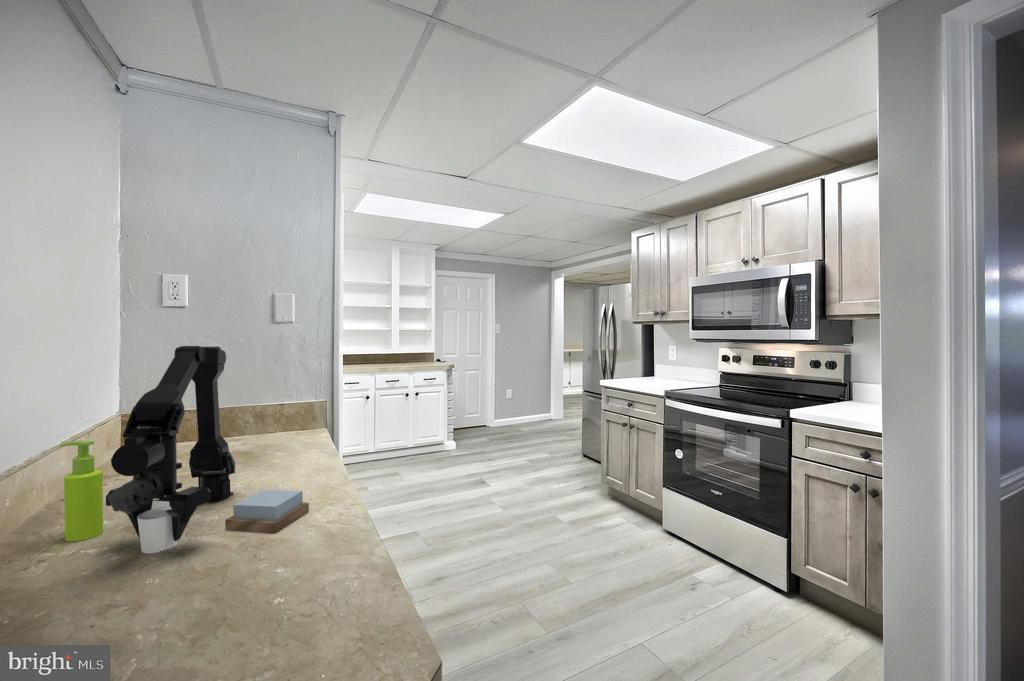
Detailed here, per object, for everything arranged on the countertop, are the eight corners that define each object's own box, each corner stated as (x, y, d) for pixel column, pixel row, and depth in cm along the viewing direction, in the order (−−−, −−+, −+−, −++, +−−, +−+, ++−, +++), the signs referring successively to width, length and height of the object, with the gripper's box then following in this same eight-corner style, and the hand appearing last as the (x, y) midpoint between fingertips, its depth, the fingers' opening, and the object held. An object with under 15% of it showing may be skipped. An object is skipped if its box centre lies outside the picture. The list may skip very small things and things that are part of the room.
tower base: (225, 533, 99) (225, 519, 99) (263, 512, 111) (263, 500, 111) (275, 536, 98) (275, 522, 97) (308, 515, 109) (308, 502, 109)
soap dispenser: (76, 530, 99) (75, 438, 99) (110, 529, 100) (109, 438, 100) (51, 542, 93) (50, 445, 93) (87, 541, 94) (86, 444, 94)
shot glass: (157, 556, 87) (156, 520, 87) (128, 553, 89) (127, 517, 89) (189, 540, 94) (188, 507, 94) (161, 537, 95) (161, 504, 95)
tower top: (233, 518, 100) (233, 504, 100) (263, 502, 110) (263, 489, 110) (276, 520, 99) (276, 506, 99) (302, 503, 109) (302, 491, 109)
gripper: (75, 471, 85) (76, 554, 85) (163, 475, 82) (163, 562, 82) (133, 455, 96) (134, 529, 96) (212, 458, 93) (213, 535, 93)
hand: (159, 538), depth 91 cm, fingers open, 8 cm apart
